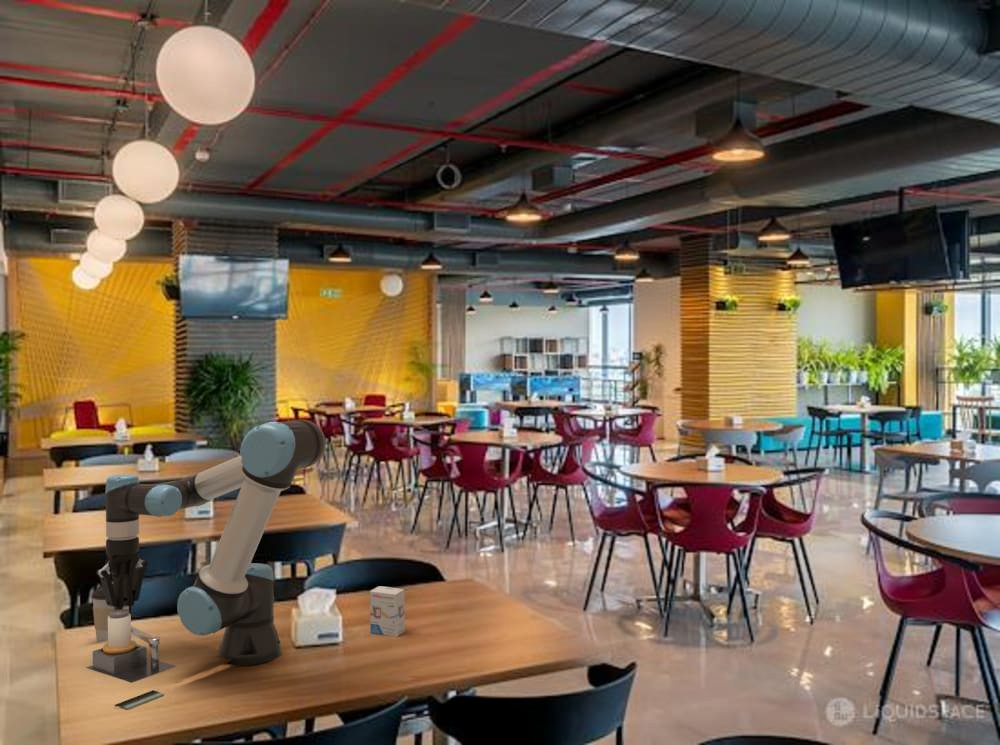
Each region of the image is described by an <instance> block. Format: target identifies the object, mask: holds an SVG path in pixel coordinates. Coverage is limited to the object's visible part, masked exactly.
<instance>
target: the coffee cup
mask: <svg viewBox="0 0 1000 745" xmlns="http://www.w3.org/2000/svg"><path fill="white" fill-rule="evenodd" d="M112 585H113V583H112ZM91 594H92V595H91V599H92V602H93V603H92V604H93V606H92V612H93V622H94V629H95V636H96V644H101V643H103V642H108V616H110V612H111V611H114V610H115V608H114V607H113V606H108V605H107V603H106V599H105V595H104V591H103V587H102V585H99V586H98V587H96V589H95V591H93V592H91Z"/></svg>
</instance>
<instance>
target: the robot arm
mask: <svg viewBox="0 0 1000 745" xmlns="http://www.w3.org/2000/svg"><path fill="white" fill-rule="evenodd" d="M240 444H241V445H240V451H239V452H240V453H239V455H238V456H237V457H233V458H231V459H229V460H226V461H224V462H222V463H220V464H217V465H214V466H213V467H210V468H208V469H206V470H203V471H200V472H199V473H196V474H194V475H190V476H188V477H186V478H182V479H178V480H177V479H176V480H171V481H166V482H160V483H153V484H147V483H145V484H144V483H140V479H139V475H137V474H133V473H124V474H113V475H110V476H108V477H107V479H106V481H105V492H104V495H105V536H106V538H107V539H106V540H105V553H106V560H105V565H104V566H103V567H102V568H101V569H100V568H98V569H97V570H96V572H95V573H96V575H97V576H98V577H99V579H100V583H101V586H102V587H103V591H104V595H105V599H106V603H107V605H108V606H113V607H114V608H115V610H118V609H127V610H129V613H130V614H131V615H132V607H133V606H134V605H135V602H137V601H139V599H140V594H141V590H142V586H143V585H142V584H143V582H144V581H143V580H144V574H145V571H146V569H147V567H148V566H149V562H148V561H147V560H143V559H141V558H140V555H139V553H138V552H139V551H140V538H139V534H140V516H151V517H159V518H162V517H171V516H174V515H176V514H177V512H178V511H180V510H183V509H184V510H185V509H189V508H192V507H201V506H203V505H205V504H207V503H208V504H209V502H211V501H212V500H213V499H215V498H216V499H217V498H218V497H221V496H224V495H225V494H228V493H230V492H231V493H232V492H233V491H236V490H237V489H240V490H239V492H238V494H237V497H236V500H235V502H234V504H233V507H232V510H231V512H230V515H229V517H228V518H227V519H228V520H227V522H226V524H225V526H224V529H223V532H222V533H221V537H220V538H219V541H218V543H217V546H216V549H215V551H214V553H213V556H212V558H211V561H210V563H209V564H206V565H204V566H203V567H202V568H201V569H200V570H199V572H198V575H197V577H196V579H195V581H194V583H193V585H192V586H189V587H186V588H185V590H183V591H182V592H181V593H180V594H179V596H178V599H177V604H176V605H177V606H176V608H177V615H178V616H179V620H180V622H181V624H182V625H183V626H184V628H185V629H186V630H187V631H188V632H190V633H191V634H194V635H196V636H200V637H201V636H203V637H204V636H208V635H211V634H216V633H217V632H218V631H221V630H223V629H224V632H223V635H222V640H221V644H220V645H219V648H218V656H219V657H220V658H223V659H225V660H229V661H227V662H224V663H223V664H224V665H228V666H229V665H230V666H238V667H239V666H240V667H241V666H245V667H246V666H252V665H253V666H254V665H259V664H263V663H264V664H265V663H267V662H270V661H273V660H275V659H277V658H278V657H279V656H281V654H282V643H281V640H280V639H279V638H280V637H279V634H278V631H277V629H276V628H277V627H276V625H275V620H274V619H275V618H274V608H275V604H274V599H275V598H274V596H275V595H274V582H275V579H274V571H273V567H272V566H270V565H269V564H265V563H258V562H257V563H255V562H254V563H253V562H252V561H253V558H254V556H255V553H256V551H257V549H258V546H259V544H260V541H261V539H262V537H263V535H264V532H265V530H266V527H267V524H268V523H269V520H270V519H271V518H270V517H271V515H272V513H273V511H274V509H275V506H276V505H277V504H276V503H277V502H278V499H279V496H280V495H281V492H283V491H285V490H287V489H289V488H290V487H291V485H292V483H293V481H294V478H295V476H296V474H297V471H298V470H302V469H307V468H309V467H312V466H314V465H315V464H317V463H318V462H319V461H320V460H321V458H322V457H323V455H324V454H325V450H326V437H325V434H324V432H323V430H322V429H321V428H320V427H319V426H318V425H317V424H316V423H314V422H313V421H310V420H306V419H295V420H294V419H293V420H288V421H280V422H279V421H270V422H266V423H263V424H260V425H257V426H255V427H253V428H251V430H249V431H248V433H247V434H245V435H244V438H243V440H242V442H241V443H240ZM110 575H111V576H110ZM112 584H113V585H112Z"/></svg>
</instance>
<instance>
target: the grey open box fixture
mask: <svg viewBox="0 0 1000 745" xmlns="http://www.w3.org/2000/svg"><path fill="white" fill-rule="evenodd" d="M159 646H160V645H159ZM159 646H155V647H150V646H149V647H150V657H148V656H147V646H145V645H144V646H143V645H140V644H137V643H136V647H135V648H134V649H133V650H131V651H128V652H125V653H122V654H119V655H116V656H115V655H111V654H108V653H105V652H103V647H102V648H98V649H96V650H93V651H92V665H89V666H86V667H85V669H88V670H91V671H95V672H97V673H101V674H104V675H106V676H110V677H113V678H115V679H118V680H122V681H126V682H128V683H131V684H132V683H135V682H138V681H141V680H143V679H146V678H149V677H152V676H155V675H157V674H160V673H163V672H165V671H168V670H171V669H174V668H177V667H178V666H177V665H175V664H170V663H168V662H164V661H162V660H160V659H159V658H160V656H159V654H160V651H159V648H160V647H159Z"/></svg>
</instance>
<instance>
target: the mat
mask: <svg viewBox="0 0 1000 745" xmlns="http://www.w3.org/2000/svg"><path fill="white" fill-rule="evenodd" d="M164 696H165V693H163V692H160V691H157V690H154V689H152V690H150V691H147V692H145V693H142V694H139V695H137V696H135V697H131V698H129V699H126V700H124V701H123V700H122V701H121V702H118V703H115V704H114V706H115V707H118V708H121V709H124V710H131V709H133V708H135V707H139V706H141V705H143V704H146V703H149V702H151V701H154V700H157V699H158V698H162V697H164Z"/></svg>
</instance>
